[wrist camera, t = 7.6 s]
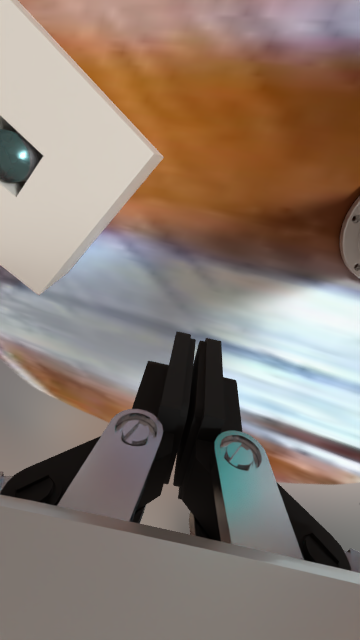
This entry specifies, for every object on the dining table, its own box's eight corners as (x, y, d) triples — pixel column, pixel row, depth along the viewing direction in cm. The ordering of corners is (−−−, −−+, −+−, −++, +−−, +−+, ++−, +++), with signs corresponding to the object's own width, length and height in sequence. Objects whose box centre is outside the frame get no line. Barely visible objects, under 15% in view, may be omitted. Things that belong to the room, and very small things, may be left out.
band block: (19, 1, 28) (-44, -57, 21) (163, 157, 33) (154, 153, 26) (-64, 161, 34) (-134, 159, 27) (68, 272, 39) (38, 295, 32)
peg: (40, 128, 32) (-3, 117, 25) (71, 159, 33) (38, 156, 26) (20, 160, 33) (-26, 157, 26) (51, 188, 34) (14, 192, 27)
